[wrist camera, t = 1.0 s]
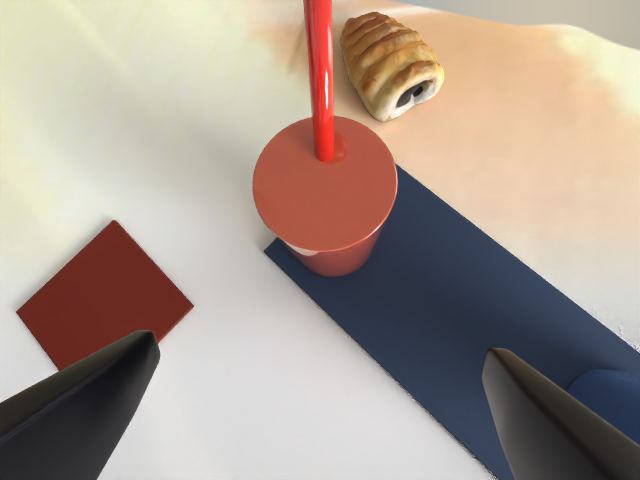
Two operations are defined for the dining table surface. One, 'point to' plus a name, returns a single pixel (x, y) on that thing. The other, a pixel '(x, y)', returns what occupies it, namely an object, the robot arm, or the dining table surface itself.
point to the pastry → (389, 65)
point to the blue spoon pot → (611, 398)
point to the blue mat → (456, 315)
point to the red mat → (102, 299)
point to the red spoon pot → (325, 172)
